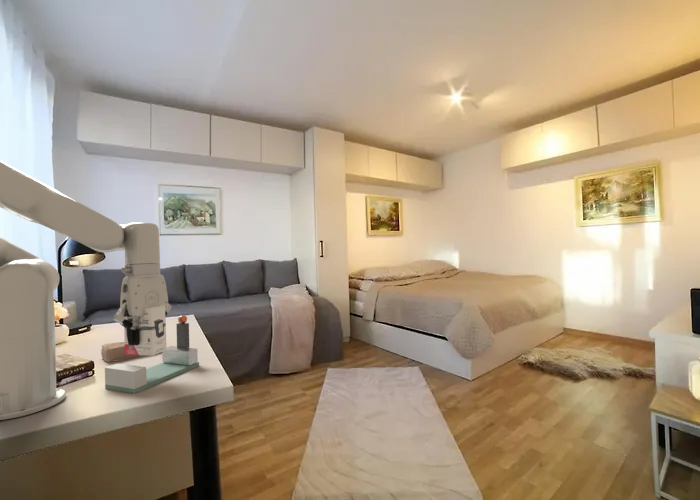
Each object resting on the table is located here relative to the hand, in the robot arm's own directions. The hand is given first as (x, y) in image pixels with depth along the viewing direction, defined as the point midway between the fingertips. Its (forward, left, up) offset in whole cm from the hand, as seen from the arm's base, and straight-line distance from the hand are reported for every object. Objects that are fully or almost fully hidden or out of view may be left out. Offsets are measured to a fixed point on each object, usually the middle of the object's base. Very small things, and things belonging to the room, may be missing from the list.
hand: (145, 340), depth 81 cm
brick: (+15, +26, -11) cm, 32 cm away
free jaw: (+11, 0, -9) cm, 14 cm away
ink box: (0, 0, -3) cm, 3 cm away
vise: (+3, 0, -10) cm, 11 cm away
